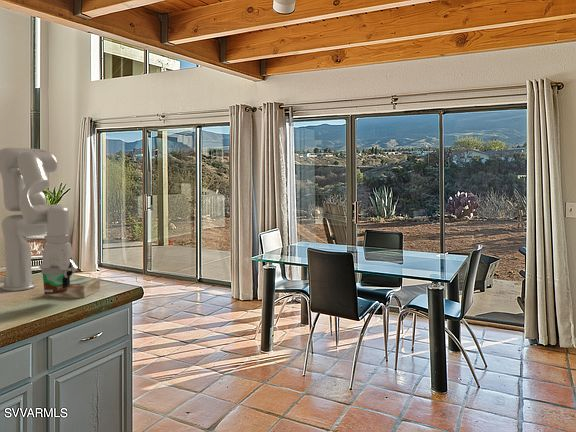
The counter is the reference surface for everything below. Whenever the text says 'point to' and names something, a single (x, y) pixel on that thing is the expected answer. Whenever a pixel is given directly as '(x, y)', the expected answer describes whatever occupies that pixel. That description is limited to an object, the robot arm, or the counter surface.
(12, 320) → the counter surface
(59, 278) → the food container
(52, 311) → the counter surface
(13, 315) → the counter surface
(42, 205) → the robot arm
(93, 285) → the birch stand
